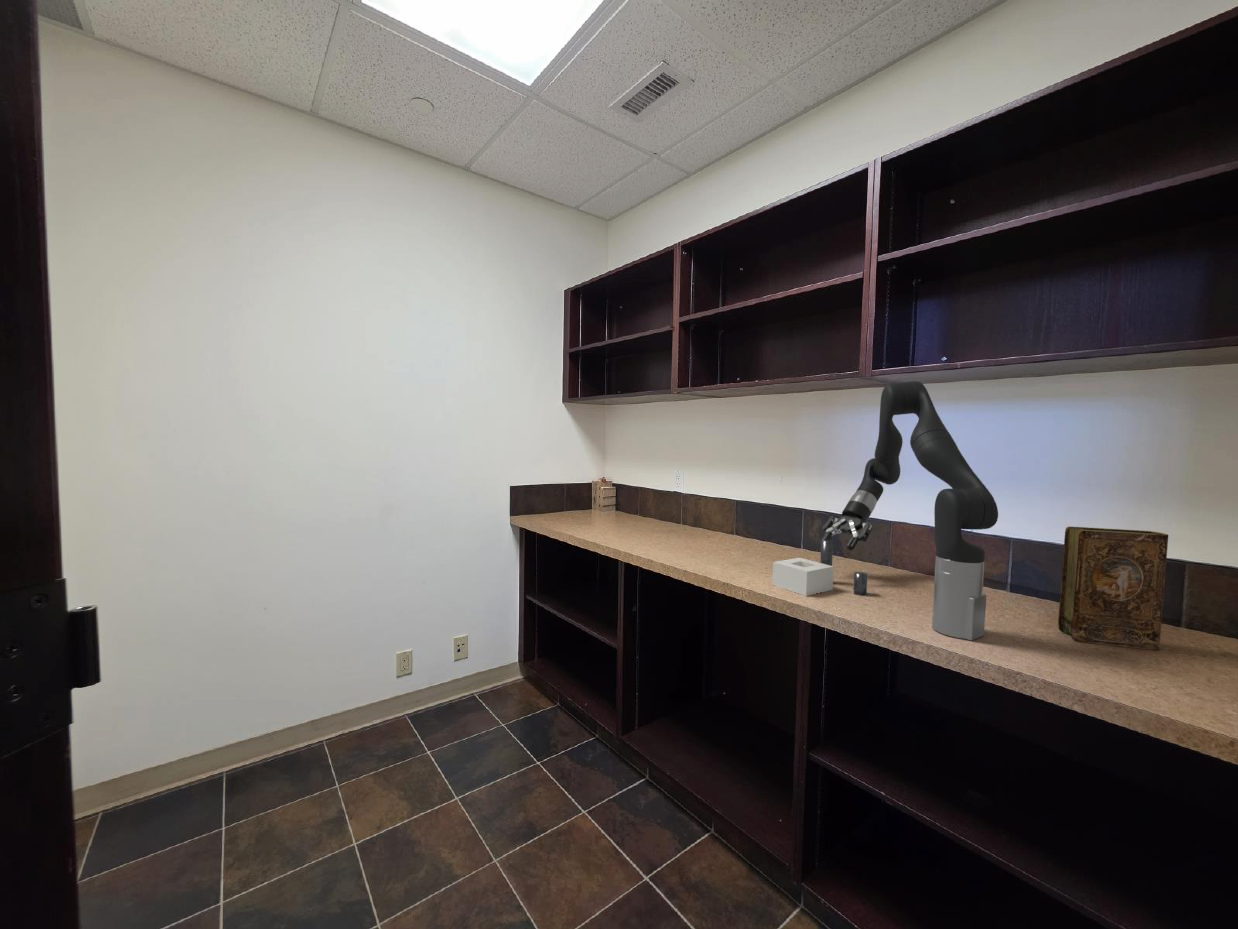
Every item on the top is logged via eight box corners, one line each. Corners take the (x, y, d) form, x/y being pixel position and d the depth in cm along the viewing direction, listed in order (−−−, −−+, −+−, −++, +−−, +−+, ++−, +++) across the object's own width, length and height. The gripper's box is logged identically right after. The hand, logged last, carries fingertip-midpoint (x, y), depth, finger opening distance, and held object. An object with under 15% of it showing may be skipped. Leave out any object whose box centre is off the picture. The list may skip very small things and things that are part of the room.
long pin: (833, 583, 152) (835, 541, 151) (826, 584, 150) (828, 542, 150) (824, 580, 155) (825, 539, 154) (817, 581, 153) (818, 540, 153)
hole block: (832, 590, 145) (833, 566, 145) (806, 596, 139) (807, 571, 138) (798, 579, 155) (799, 557, 155) (772, 585, 149) (773, 562, 148)
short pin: (869, 594, 141) (870, 573, 141) (862, 596, 140) (863, 575, 139) (857, 591, 144) (858, 571, 144) (850, 593, 143) (851, 572, 142)
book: (1146, 641, 111) (1154, 531, 110) (1164, 651, 106) (1174, 535, 104) (1057, 631, 116) (1064, 526, 114) (1071, 641, 110) (1078, 530, 109)
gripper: (835, 497, 164) (811, 534, 159) (876, 502, 152) (852, 542, 147) (844, 512, 167) (821, 549, 162) (885, 518, 155) (862, 558, 150)
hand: (836, 546), depth 154 cm, fingers open, 8 cm apart
